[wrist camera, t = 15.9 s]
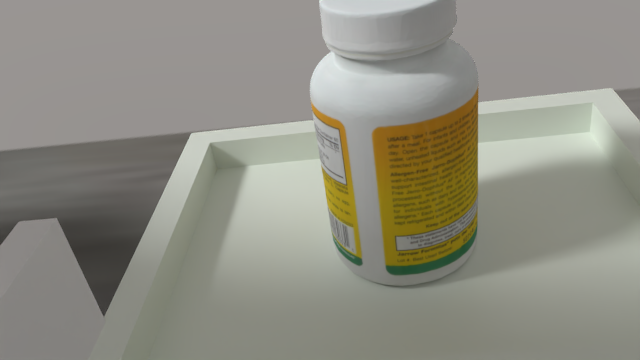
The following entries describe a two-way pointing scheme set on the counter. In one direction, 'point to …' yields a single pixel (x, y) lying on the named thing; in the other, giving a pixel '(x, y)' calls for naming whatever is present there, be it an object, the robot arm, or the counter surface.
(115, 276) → the counter surface
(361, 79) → the supplement bottle
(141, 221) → the counter surface
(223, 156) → the tray
